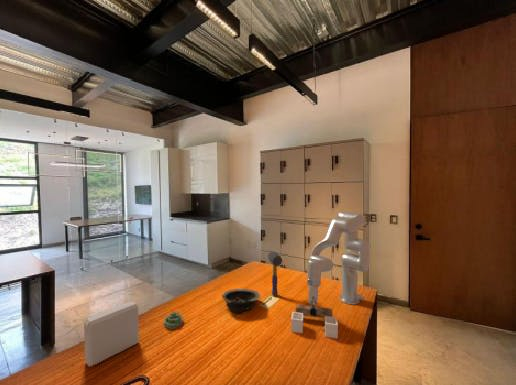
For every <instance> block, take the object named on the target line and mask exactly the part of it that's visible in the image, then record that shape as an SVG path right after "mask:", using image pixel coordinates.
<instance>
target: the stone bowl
mask: <svg viewBox="0 0 516 385" xmlns="http://www.w3.org/2000/svg"><path fill="white" fill-rule="evenodd" d="M221 297H222V298H223V300H224V301H225V302H226V306H227V308H228V311H230V312H232V313H242V312H243V311H246V310H252V309H254V306H255V303H256V301H257V300H259V299H260V298H261V294H260V293H259V292H258V290H254V289H249V288H235V289H229V290H227V291H225V292H224V293H223V294H221Z"/></svg>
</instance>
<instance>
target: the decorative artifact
mask: <svg viewBox="0 0 516 385" xmlns="http://www.w3.org/2000/svg"><path fill="white" fill-rule="evenodd" d="M183 323H184V316H183V315H181V314H180V312H177V311H173V312H171V313H170V314H168V315H166V316H165V318H164V320H163V324H164V325H163V326H164V328H165V329H166V328H167V330H174V328H175V329H177V327H178V328H180V327H182V325H183ZM179 326H180V327H179Z"/></svg>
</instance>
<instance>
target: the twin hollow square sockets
mask: <svg viewBox="0 0 516 385" xmlns="http://www.w3.org/2000/svg"><path fill="white" fill-rule="evenodd" d="M337 318H338V317H337V316H332V317H330V316H325V318H324V333H325V334H324V335H325V337H326V338H332V339H336V340H337V339H338V338H339V336H338V335H339V324H338V319H337ZM303 331H304V315H303V313H298V312H296V311H292V312H291V317H290V332H292V333H296V334H303Z"/></svg>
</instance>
